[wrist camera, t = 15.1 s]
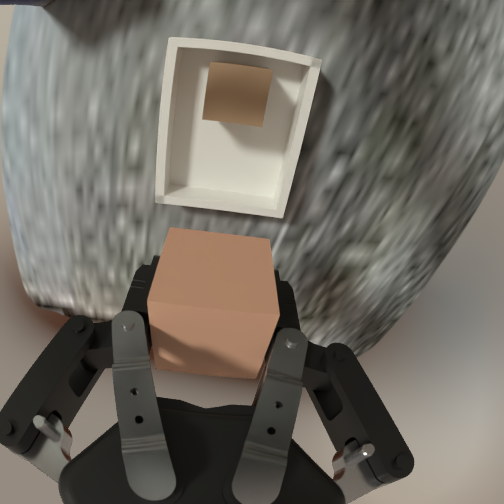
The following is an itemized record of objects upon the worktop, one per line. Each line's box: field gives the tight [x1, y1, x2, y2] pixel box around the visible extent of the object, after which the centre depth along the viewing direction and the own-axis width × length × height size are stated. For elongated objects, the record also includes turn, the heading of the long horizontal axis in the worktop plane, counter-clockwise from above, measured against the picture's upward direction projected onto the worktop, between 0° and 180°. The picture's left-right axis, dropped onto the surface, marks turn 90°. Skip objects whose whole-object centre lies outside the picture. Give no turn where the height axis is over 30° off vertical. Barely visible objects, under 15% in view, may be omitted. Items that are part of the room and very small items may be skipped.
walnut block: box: [202, 61, 273, 127], centre depth 21 cm, size 4×4×4 cm
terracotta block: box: [147, 227, 280, 379], centre depth 13 cm, size 4×4×4 cm
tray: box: [155, 37, 322, 218], centre depth 25 cm, size 15×12×4 cm
